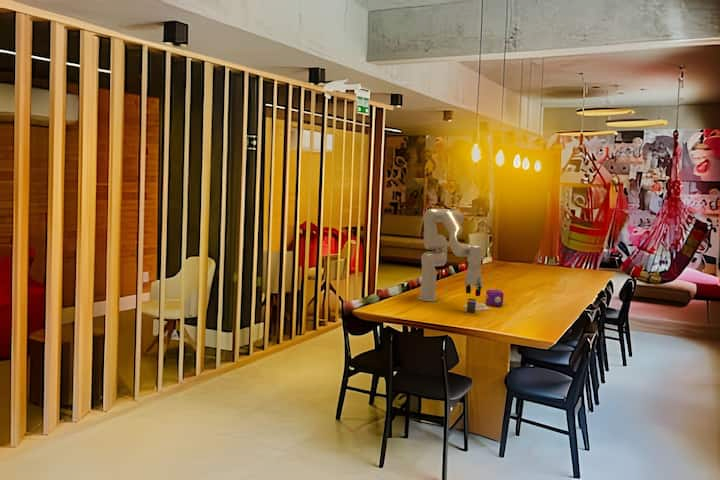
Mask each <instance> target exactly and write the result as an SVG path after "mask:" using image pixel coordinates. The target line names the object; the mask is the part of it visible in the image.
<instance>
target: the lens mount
mask: <svg viewBox="0 0 720 480" xmlns="http://www.w3.org/2000/svg"><path fill="white" fill-rule="evenodd" d="M463 308H464V309H465V308H466V309H467V304H465V305H463ZM491 310H492V308H490V307H487V306H486V304H485V303H483V302H476V308H475V312H483V311H491Z"/></svg>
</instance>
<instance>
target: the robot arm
mask: <svg viewBox="0 0 720 480" xmlns="http://www.w3.org/2000/svg"><path fill="white" fill-rule="evenodd" d="M422 218H423V220H422V221H423V228H424V229H423V247H424V248H425V249H426V250H433V251H426V252H424V253H423V254H422V255H421V257H420V258H421V259H420V260H421V284H420V291H419V293H418V295H419V296H418V297H417V300H419V301H422V302H437V301H438V298H437V297H436V289H437V288H436V287H437V269H436V267H442V266H445V265H446V263H447V260H448V245H449V247H450V250H451V251H452V253H453V254H454V255H455V256H456V257H458V258H459V257H460V258H461V257H466V258H467V257H468V258H467V259H468V260H467V261H468V264H467V268H466V273H465V278H464V284H465V294H471V292H472V287H473V286H475V288H476V289H475V294H474V295H475V297H481V292H482V291H481V290H482V288H483V285H484V282H483V281H482V253H483V252H482V251H483V247H482V246H481V245H474V244H471V243H460V242H459V241H458V238H457V237H458V236H460V235H461V234H462V233H463V227H462V226H461V224H462V223H463V221H464V214H463V212H461V211H459V210H454V209H448V208H429V209H427V210H425V212H424V214H423V217H422ZM436 223H443V225H444V226H445V228H446V231H448V233H449V238H448V240H447V237H445V236H444V235H443V234H438V227H437V224H436Z"/></svg>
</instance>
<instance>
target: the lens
mask: <svg viewBox="0 0 720 480" xmlns="http://www.w3.org/2000/svg"><path fill="white" fill-rule="evenodd" d="M466 300H467V304H466V305H467V308H466V313H468V314H475V313H476V311H475V308H476V303H477V299H475V298H467V299H466Z"/></svg>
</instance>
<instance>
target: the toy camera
mask: <svg viewBox="0 0 720 480" xmlns="http://www.w3.org/2000/svg"><path fill="white" fill-rule="evenodd" d="M485 303H486V304H487V306H490V307H491V306H493V307H502V306H503V305H504V292H503V291H502V290H500V289H499V288H496V289H486V291H485Z"/></svg>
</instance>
